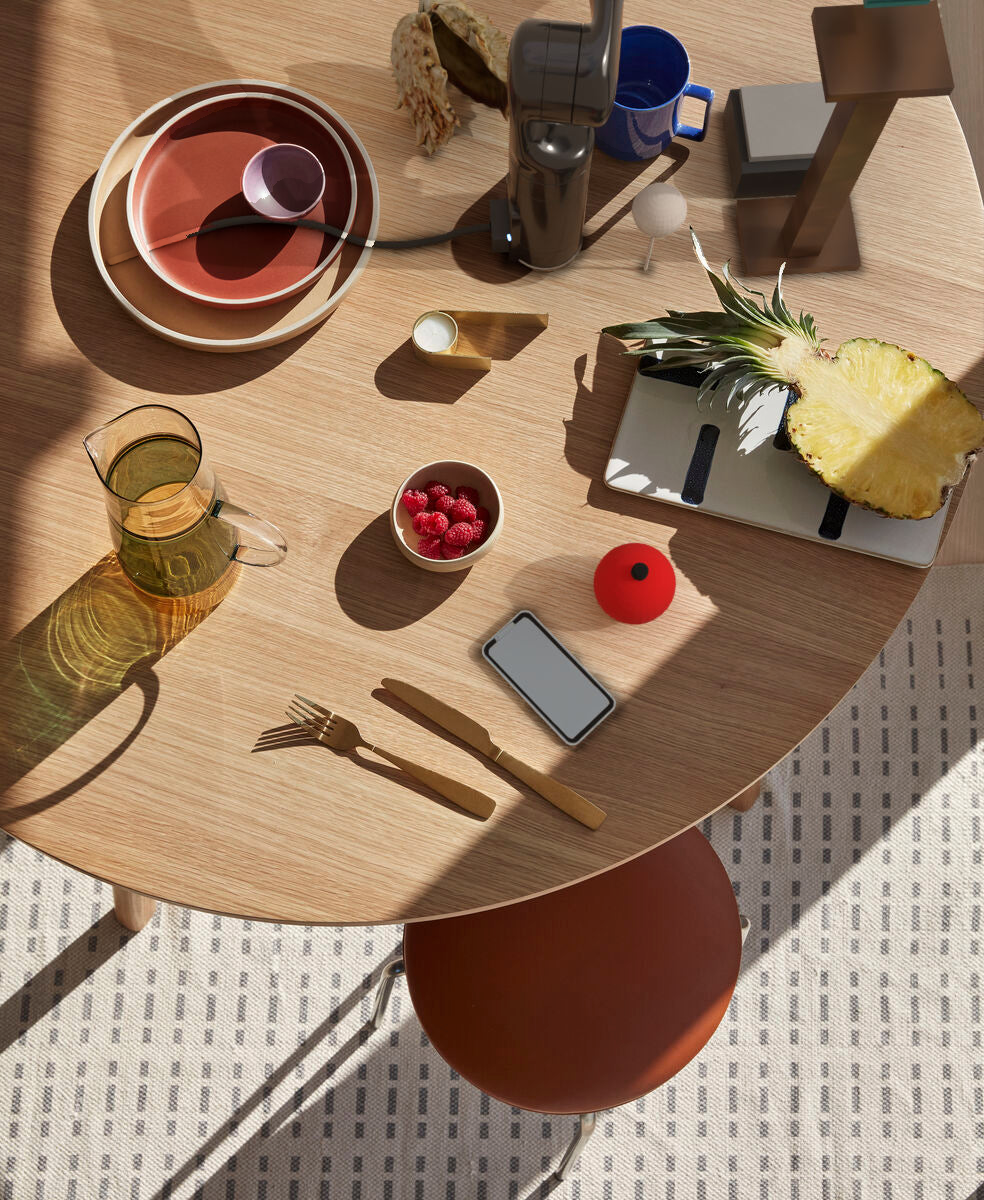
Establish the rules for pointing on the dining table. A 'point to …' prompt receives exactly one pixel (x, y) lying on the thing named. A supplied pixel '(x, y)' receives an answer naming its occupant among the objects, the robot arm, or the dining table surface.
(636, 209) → the lollipop
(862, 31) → the wooden pedestal stand
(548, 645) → the smartphone
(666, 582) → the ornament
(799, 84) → the scale
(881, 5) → the scoop
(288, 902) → the dining table surface
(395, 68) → the seashell
